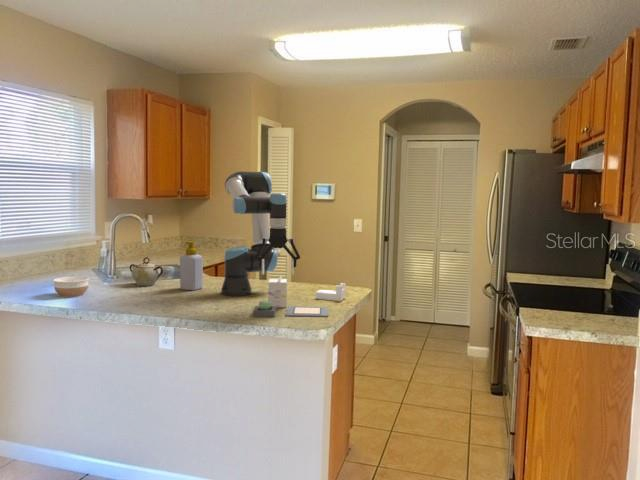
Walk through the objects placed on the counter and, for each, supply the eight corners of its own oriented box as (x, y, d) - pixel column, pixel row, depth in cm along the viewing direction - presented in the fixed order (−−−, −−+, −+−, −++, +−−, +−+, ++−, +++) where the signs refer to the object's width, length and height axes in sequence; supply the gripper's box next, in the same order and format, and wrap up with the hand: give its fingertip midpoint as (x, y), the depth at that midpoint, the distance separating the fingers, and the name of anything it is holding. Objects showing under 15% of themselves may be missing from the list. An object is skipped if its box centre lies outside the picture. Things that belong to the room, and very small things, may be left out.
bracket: (345, 298, 261) (345, 283, 261) (340, 301, 255) (341, 286, 254) (320, 296, 266) (320, 281, 265) (315, 299, 259) (315, 284, 258)
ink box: (268, 303, 248) (268, 275, 246) (286, 303, 248) (286, 275, 247) (268, 307, 239) (268, 278, 238) (286, 307, 240) (287, 278, 238)
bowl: (96, 293, 264) (96, 277, 263) (69, 299, 249) (69, 283, 248) (73, 290, 270) (73, 275, 269) (46, 296, 256) (45, 280, 255)
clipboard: (285, 316, 224) (285, 314, 224) (287, 307, 240) (287, 305, 240) (328, 316, 224) (328, 315, 224) (327, 308, 240) (327, 306, 240)
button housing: (253, 316, 222) (252, 310, 222) (255, 311, 231) (255, 305, 231) (274, 317, 222) (274, 311, 222) (276, 311, 231) (276, 306, 231)
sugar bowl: (169, 283, 294) (169, 256, 292) (155, 288, 279) (155, 259, 278) (137, 281, 298) (137, 254, 296) (122, 286, 283) (121, 258, 282)
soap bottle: (179, 289, 276) (178, 241, 273) (189, 286, 284) (189, 240, 282) (193, 291, 273) (193, 242, 270) (203, 288, 281) (203, 240, 278)
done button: (258, 310, 224) (258, 303, 224) (259, 307, 229) (259, 300, 229) (270, 310, 224) (270, 303, 224) (271, 307, 229) (271, 300, 229)
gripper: (249, 227, 236) (249, 275, 238) (305, 228, 236) (305, 275, 238) (251, 226, 244) (251, 272, 246) (305, 227, 244) (305, 273, 246)
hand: (277, 274), depth 242 cm, fingers open, 13 cm apart
